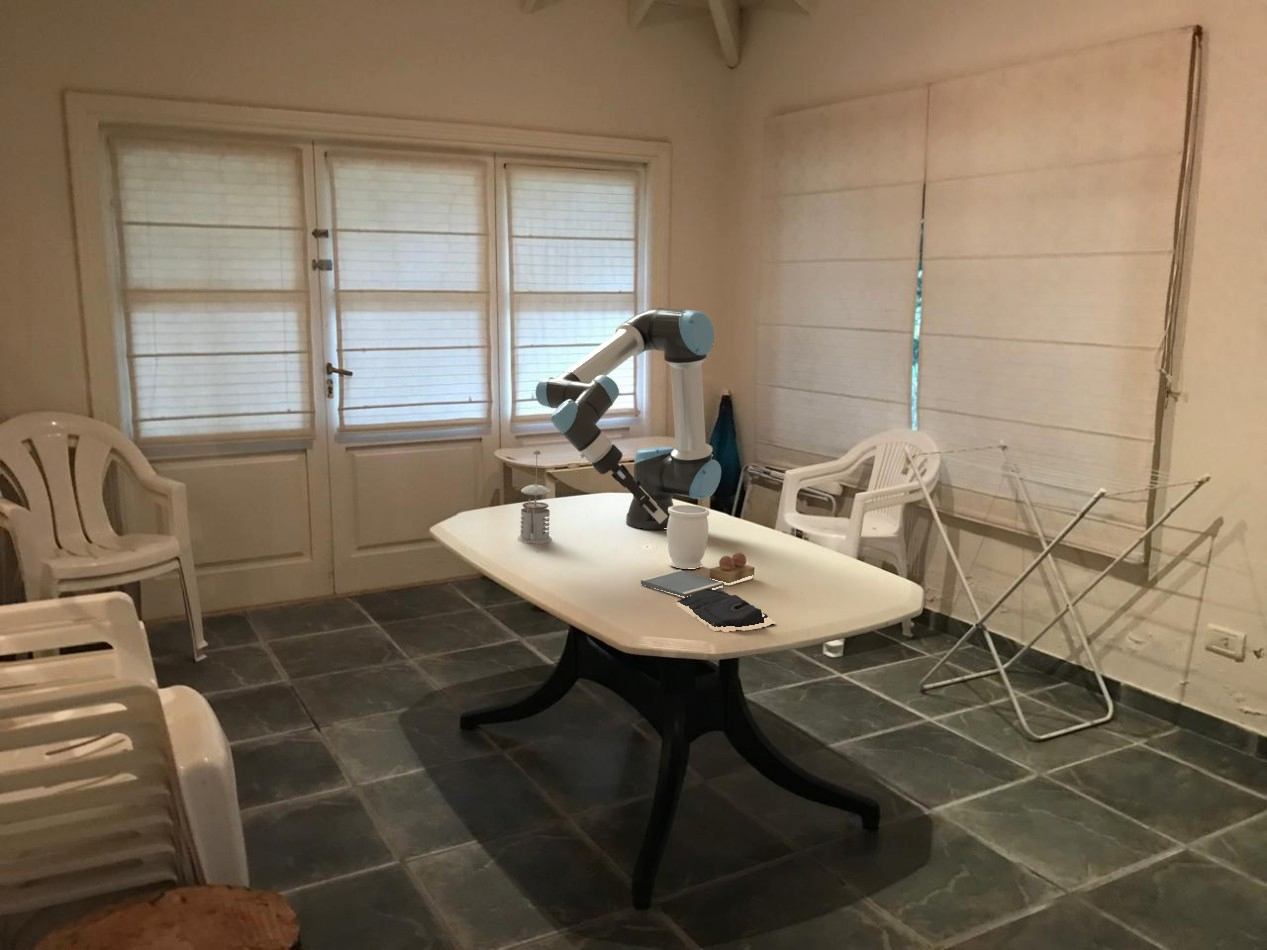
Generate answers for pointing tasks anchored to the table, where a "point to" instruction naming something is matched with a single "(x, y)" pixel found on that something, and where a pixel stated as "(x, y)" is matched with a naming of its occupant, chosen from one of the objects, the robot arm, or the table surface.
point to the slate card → (680, 583)
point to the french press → (535, 515)
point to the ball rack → (732, 569)
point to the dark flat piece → (723, 609)
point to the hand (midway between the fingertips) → (658, 513)
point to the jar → (687, 535)
